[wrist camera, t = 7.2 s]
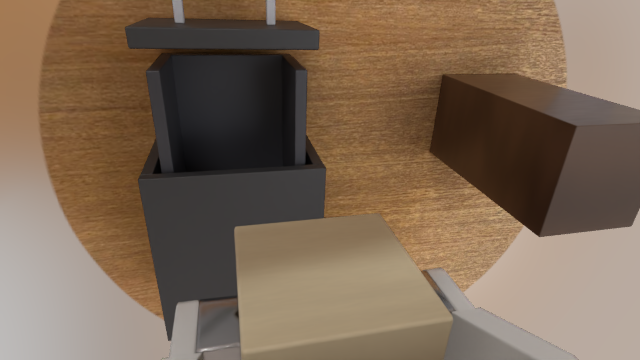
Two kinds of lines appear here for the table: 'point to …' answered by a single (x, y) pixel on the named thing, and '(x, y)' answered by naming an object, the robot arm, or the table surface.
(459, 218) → the table surface
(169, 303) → the dark box sleeve
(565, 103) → the stand
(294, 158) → the drawer
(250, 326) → the cube
